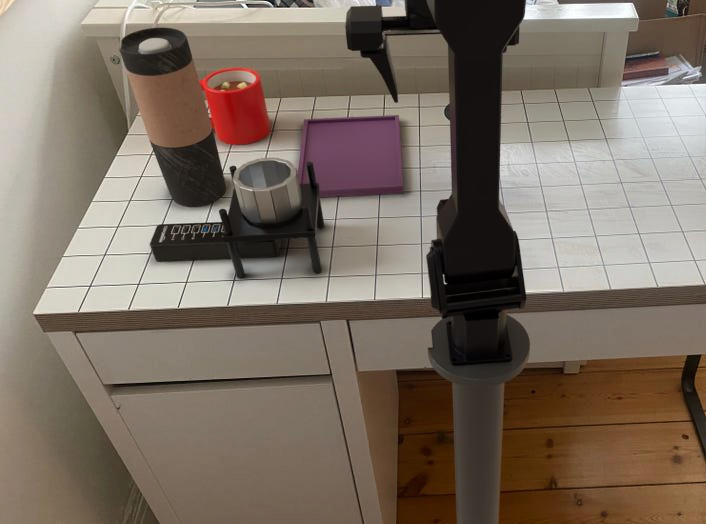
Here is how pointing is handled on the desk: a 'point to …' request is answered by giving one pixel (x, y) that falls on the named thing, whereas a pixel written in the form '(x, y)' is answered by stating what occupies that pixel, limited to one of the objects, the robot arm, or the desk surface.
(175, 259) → the multiport hub
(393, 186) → the purple tray
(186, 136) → the travel mug
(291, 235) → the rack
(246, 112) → the mug
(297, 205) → the bowl
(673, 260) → the desk surface
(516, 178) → the desk surface
